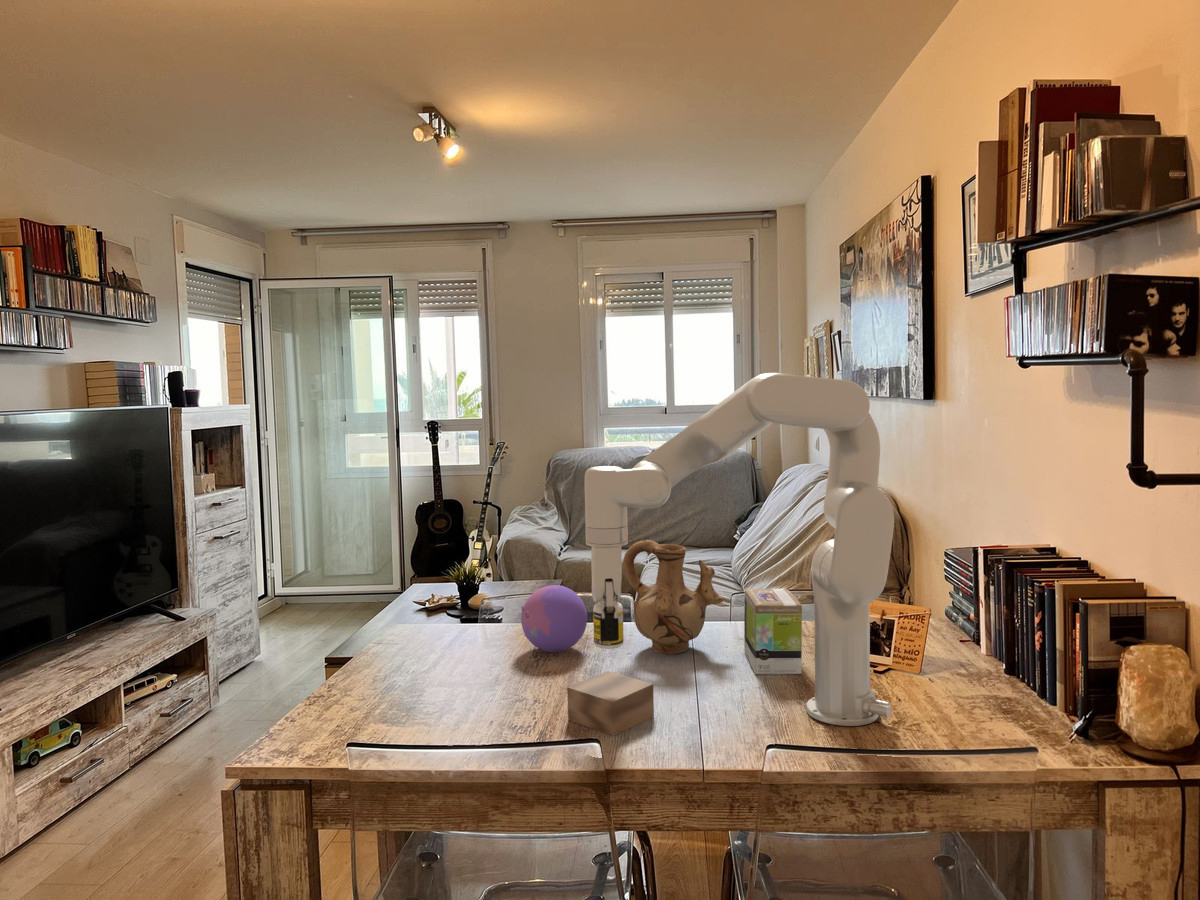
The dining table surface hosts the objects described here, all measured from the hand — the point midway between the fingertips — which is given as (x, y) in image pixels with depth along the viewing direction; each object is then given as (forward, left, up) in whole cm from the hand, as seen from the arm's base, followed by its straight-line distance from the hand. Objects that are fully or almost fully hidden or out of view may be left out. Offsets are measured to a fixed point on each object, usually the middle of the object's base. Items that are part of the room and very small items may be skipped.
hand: (608, 634), depth 150 cm
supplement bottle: (0, 0, -2) cm, 2 cm away
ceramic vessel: (+15, -38, -16) cm, 44 cm away
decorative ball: (+36, -21, -16) cm, 45 cm away
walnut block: (0, 0, -15) cm, 15 cm away
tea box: (-7, -44, -16) cm, 47 cm away
